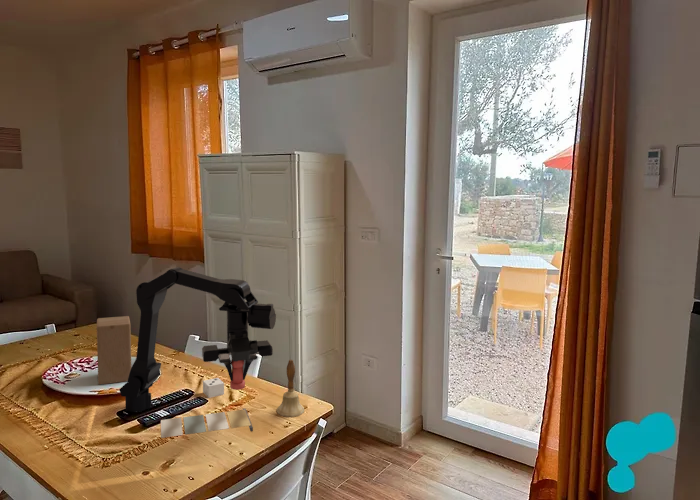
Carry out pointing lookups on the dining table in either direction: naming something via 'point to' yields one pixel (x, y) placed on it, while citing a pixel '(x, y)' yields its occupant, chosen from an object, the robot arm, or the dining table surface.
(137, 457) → the dining table surface
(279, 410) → the hand bell
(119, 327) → the wooden block
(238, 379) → the pawn
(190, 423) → the board
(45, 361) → the dining table surface
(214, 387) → the die
